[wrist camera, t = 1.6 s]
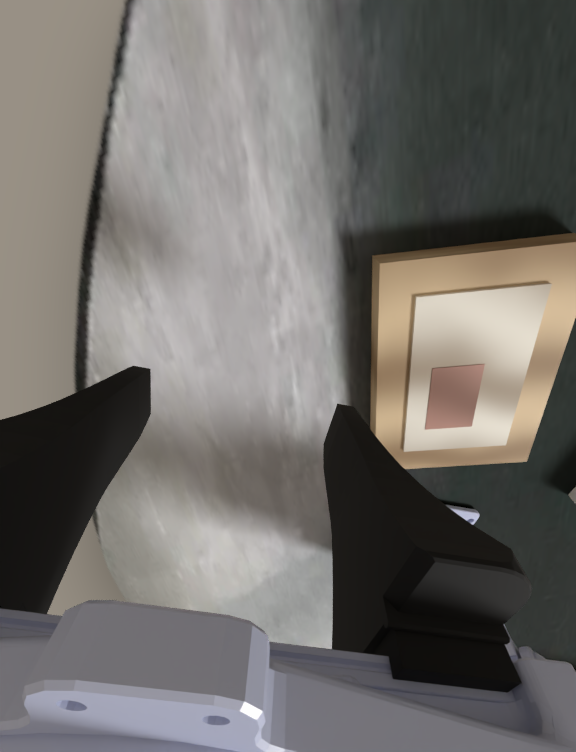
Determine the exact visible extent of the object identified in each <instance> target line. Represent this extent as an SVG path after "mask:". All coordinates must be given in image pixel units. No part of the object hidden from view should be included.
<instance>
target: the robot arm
mask: <svg viewBox="0 0 576 752" xmlns="http://www.w3.org/2000/svg"><path fill="white" fill-rule="evenodd" d="M150 414H151V387H150V369H148V368H142V367H137V366H132V367H130V368H127V369H125V370H123V371H121V372H119V373H117V374H115V375H113V376H111V377H109V378H107V379H105V380H103V381H101V382H99V383H97V384H94V385H92V386H90V387H88V388H86V389H84V390H82V391H79V392H77V393H75V394H72V395H70V396H68V397H66V398H63V399H61V400H59V401H56V402H54V403H51V404H49V405H46V406H43V407H40V408H37V409H35V410H32V411H29V412H26V413H23V414H20V415H17V416H14V417H10V418H6V419H2V420H0V752H576V671H575V670H574V668H573V666H572V665H571V664H569V663H568V662H562V661H555V660H547V659H545V658H544V657H543V656H541V655H540V654H538V653H536V652H533V650H532V649H531V648H530V647H528V646H524V647H520V648H519V649H518V648H517V647H516V645H515V644H514V642H513V641H512V639H511V638H510V636H509V633H508V631H507V629H506V627H505V625H504V623H506V622H507V621H508V620H509V619H510V618H511V617H512V616H513V615H514V614H516V613H517V612H518V611H519V610H520V609H521V608H522V607H523V606H524V605H525V604H526V603H527V601H528V600H529V598H530V595H531V591H532V587H531V583H530V581H529V579H528V577H527V576H526V574H525V572H524V570H523V569H522V567H521V565H520V563H519V562H518V560H517V558H516V557H515V555H514V553H513V551H512V550H511V549H510V548H508V547H507V546H505V545H504V544H502V543H500V542H499V541H497V540H496V539H494V538H492V537H491V536H489V535H488V534H486V533H484V532H483V531H481V530H480V529H478V528H477V527H475V526H474V525H473V524H474V523H475V522H476V520H477V519H478V518H479V513H478V511H477V510H475V509H469V508H463V507H457V506H451V505H445V504H443V503H442V502H441V501H440V500H438V499H437V498H436V497H435V496H434V495H432V494H431V493H430V492H429V491H427V490H426V489H425V488H424V487H423V486H422V485H421V484H420V483H418V482H417V481H416V480H415V479H414V478H413V477H412V476H411V475H410V474H409V473H408V472H407V471H406V470H405V469H404V468H403V467H402V466H401V465H400V464H399V463H398V462H397V461H396V460H395V458H394V457H393V456H392V455H391V454H390V453H389V452H388V451H387V449H386V448H385V447H384V446H383V445H382V443H381V442H380V441H379V440H378V438H377V437H376V436H375V435H374V433H373V432H372V431H371V429H370V428H369V427H368V426H367V424H366V423H365V422H364V420H363V419H362V418H361V416H360V415H359V414H358V412H357V411H356V410H355V408H354V407H352V406H347V405H341V404H337V407H336V410H335V413H334V416H333V419H332V421H331V424H330V427H329V430H328V433H327V436H326V439H325V442H324V474H325V482H326V490H327V497H328V504H329V512H330V519H331V529H332V554H333V635H332V649H324V648H316V647H308V646H300V645H292V644H284V643H276V642H269V640H268V636H267V634H266V633H265V632H264V631H263V630H262V629H260V628H259V627H258V626H256V625H255V624H253V623H252V622H251V621H248V620H245V619H241V618H237V617H233V616H230V615H224V614H216V613H208V612H200V611H193V610H185V609H177V608H169V607H162V606H154V605H146V604H138V603H131V602H123V601H114V600H89V601H86V602H84V603H81V604H79V605H76V606H74V607H72V608H70V609H68V610H66V611H65V612H64V614H63V616H57V615H49V614H47V612H48V610H49V607H50V605H51V603H52V600H53V598H54V595H55V593H56V591H57V589H58V586H59V584H60V582H61V580H62V577H63V575H64V573H65V571H66V569H67V566H68V564H69V562H70V560H71V558H72V555H73V553H74V551H75V549H76V547H77V545H78V543H79V541H80V539H81V537H82V535H83V532H84V530H85V528H86V526H87V524H88V522H89V520H90V518H91V516H92V514H93V512H94V510H95V509H96V507H97V505H98V503H99V501H100V499H101V497H102V495H103V494H104V492H105V490H106V488H107V487H108V485H109V484H110V482H111V481H112V479H113V478H114V476H115V474H116V473H117V471H118V470H119V468H120V467H121V465H122V464H123V462H124V461H125V459H126V458H127V456H128V455H129V453H130V452H131V450H132V448H133V447H134V445H135V444H136V442H137V441H138V439H139V437H140V436H141V433H142V431H143V429H144V427H145V425H146V423H147V421H148V418H149V416H150Z"/></svg>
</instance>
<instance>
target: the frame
mask: <svg viewBox="0 0 576 752" xmlns="http://www.w3.org/2000/svg"><path fill="white" fill-rule="evenodd" d="M575 317H576V234H575V233H568V234H559V235H550V236H541V237H532V238H523V239H515V240H506V241H497V242H488V243H479V244H470V245H462V246H453V247H444V248H435V249H426V250H417V251H408V252H400V253H391V254H382V255H373V256H372V325H371V413H370V429H371V431H372V432H373V433H374V435H375V436H376V437H377V438H378V440H379V441H380V442H381V443H382V445H383V446H384V447H385V448H386V449H387V451H388V452H389V453H390V454H391V455H392V456H393V457H394V458H395V460H396V461H397V462H398V463H399V464H400V465H401V466H402V467H403V468H404V469H413V468H429V467H446V466H463V465H479V464H496V463H512V462H527V459H528V456H529V453H530V450H531V447H532V444H533V442H534V439H535V436H536V433H537V430H538V427H539V424H540V421H541V418H542V415H543V412H544V409H545V406H546V403H547V400H548V397H549V394H550V391H551V388H552V385H553V382H554V379H555V377H556V374H557V371H558V368H559V365H560V362H561V359H562V356H563V353H564V350H565V347H566V344H567V341H568V338H569V335H570V332H571V329H572V326H573V323H574V320H575Z"/></svg>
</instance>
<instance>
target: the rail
mask: <svg viewBox="0 0 576 752" xmlns="http://www.w3.org/2000/svg"><path fill="white" fill-rule="evenodd" d="M568 496H569V497H570V498H571V499H572V500H573V501H574V503H575V504H576V487H575V488H574V489H573V490H572V491H571V492H570V493H569V494H568Z"/></svg>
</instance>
